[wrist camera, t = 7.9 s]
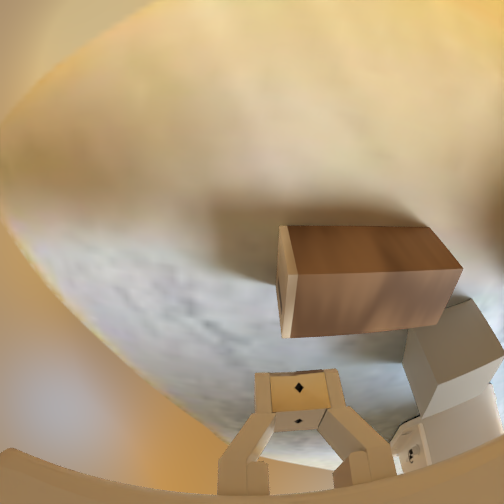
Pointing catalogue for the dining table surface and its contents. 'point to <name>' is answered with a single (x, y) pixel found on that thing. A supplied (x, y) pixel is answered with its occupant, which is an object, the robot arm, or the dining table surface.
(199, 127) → the dining table surface
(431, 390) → the grey cube
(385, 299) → the walnut post
